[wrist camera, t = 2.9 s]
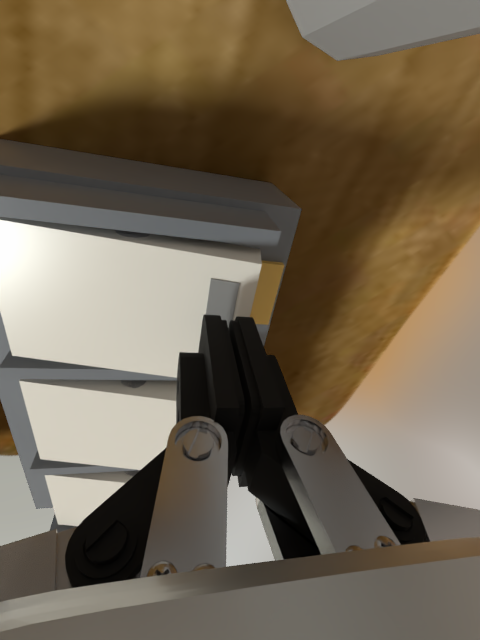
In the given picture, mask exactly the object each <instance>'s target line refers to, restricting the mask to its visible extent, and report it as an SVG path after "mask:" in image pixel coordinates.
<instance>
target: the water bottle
mask: <svg viewBox="0 0 480 640" xmlns="http://www.w3.org/2000/svg"><path fill="white" fill-rule="evenodd" d="M286 1H287V4H288V6H289V8H290V10H291V13H292V15H293V17H294V20H295V22H296V24H297V26H298V29H299V31H300V33H301V35H302V37H303V38H304V39H306V40H307V41H309V42H310V43H312V44H313V45H315V46H316V47H318V48H319V49H321V50H322V51H324V52H325V53H327V54H328V55H330V56H331V57H333V58H334V59H336V60H337V61H339V60H347V59H355V58H363V57H371V56H378V55H383V54H387V53H392V52H397V51H401V50H406V49H410V48H415V47H420V46H424V45H429V44H434V43H438V42H443V41H447V40H452V39H457V38H461V37H466V36H471V35H475V34H480V0H286Z"/></svg>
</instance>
